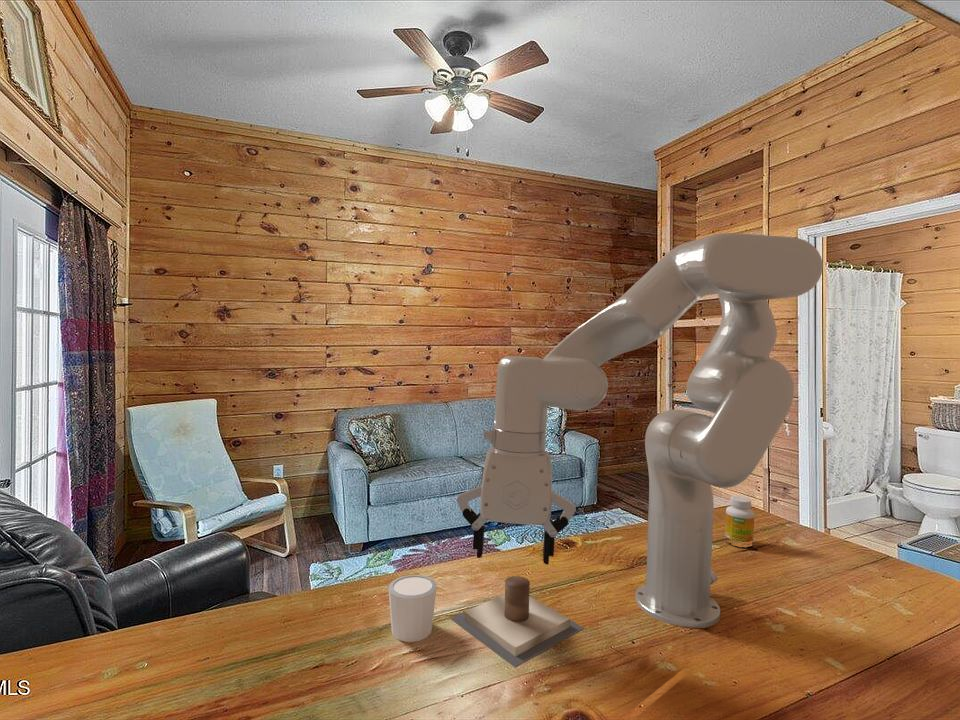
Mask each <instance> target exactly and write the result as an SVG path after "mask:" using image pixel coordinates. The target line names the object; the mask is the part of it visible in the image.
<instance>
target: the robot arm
mask: <svg viewBox="0 0 960 720" xmlns="http://www.w3.org/2000/svg"><path fill="white" fill-rule="evenodd" d="M822 273H823V260H822V256H821V254H820V252H819V250H818V249H817V248H816V247H815V246H814V245H813V244H812V243H810V242H809V241H807V240H805V239H802V238H798V237H793V236H782V235H781V236H779V235H778V236H777V235H765V234H764V235H763V234H753V233H736V232H734V233H733V232H732V233H731V232H728V233H727V232H726V233H725V232H723V233H716V234H711V235H708V236H705V237H701V238H697V239H694V240H691V241H687V242H684V243H682V244H679V245H677V246H675V247H674V248H672V249H671V250H670V251H668V252H667V253H666V254H665V255H664V256H663V257H661V259H660V260H658V262H656V263H655V264H654V265H653V266H652V267H651V268H650V269H649V270H648V271H647V272H646V273H645V274H643V276H642V277H641V278H640V279H638V280H637V281H636V282H635V283H634V284H633V285H632V286H631V287H630V288H629V289H628V290H627V291H626V292H624V294H622V295H621V296H620V297H618V299H616V300H615V301H613V302H612V303H611V304H609V305H608V306H606V307H605V308H604V309H602V310H601V311H599V312H598V313H597V314H595V315H594V316H593V317H591V318H590V319H588V320H587V321H586V322H584V323H582V324H581V325H579V326H577V328H575V330H573V331H572V332H571V333H569V334H568V335H567V336H566V337H564V338H563V340H561V341H560V342H559V343H558V344H557V345H556V346H555V347H554V348H552V350H551V351H550V352H548V353H547V354H546V355H545V356H544V357H543V358H540V357H535V356H520V355H519V356H518V355H508V356H504V357H502V358H501V359H500V360H499V362H498V364H497V370H496V371H497V372H496V373H497V374H496V388H495V389H496V392H495V408H494V409H495V410H494V424H493V425H494V427H493V428H492V429H491V430H484V431H483V441H488V442H491V443H490V444H492V446H490V447H488V449H487V452H486V455H485V459H484V465H483V472H482V480H481V485H479V486H475V487H474V488H471V489H469V490H467V491H464V492H462V493H460V494H458V495H457V497H456V502H457V505H458V507H459V509H460V511H461V514H462V517H463V518H464V519H465V520H466V521H467V523H468V524H469V525H470V526H471V529H472V530H473V539H472V550H475V551H476V558H477V559H481V558H483V553H484V543H485V527H486V526H485V524H486V523H487V522H488V521H490V522H493V523H494V522H496V523H505V524H514V525H515V524H516V525H517V524H519V525H528V526H531V525H532V526H542V527H543V529H544V531H543V544H542V545H543V546H542V547H543V548H542V561H543V564H545V565H549V563H550V562H549V561H550V557H553V558H554V556H555V554H554V553H555V542H556V541H555V538H556V537H557V536H558V534H559V533H561V531H563V529H565V528H566V527H567V526H568V525H569V522H570V520H572V517H573V516H574V514H575V513H576V511H577V507H576V505H575V504H574V503H573V502H571V501H570V500H568V499H566V498H565V497H563V496H561V495H559V494H558V493H557V492H555V491H553V474H552V473H553V470H552V469H553V468H552V460H551V459H552V458H551V453H550V452H549V451H547V450H546V439H547V422H548V421H547V419H548V407H552V408H553V407H554V408H560V409H564V410H569V411H570V410H571V411H576V412H577V411H578V412H579V411H586V410H590V409H593V408H595V407H597V406H598V405H599V404H601V402H602V401H603V400H604V399H605V397H606V395H607V393H608V390H609V381H608V377H607V375H606V373H605V372H604V370H603V369H602V368H601V366H602V365H603V364H605V363H607V362H608V361H611V359H614V358H616V357H617V356H620V355H622V354H624V353H628V352H631V351H635V350H638V349H640V348H643V347H645V346H647V345H650V344H651V343H654V342H655V341H657V340H659V339H660V338H661V337H662V336H664V334H665V333H666V332H668V330H669V329H670V328H671V327H672V326H673V325H674V324H676V322H677V321H678V320H680V318H681V317H682V316H684V314H686V312H687V311H688V310H690V309H691V308H692V307H693V306H694V305H695V304H696V303H697V302H698V301H699V300H701V299H702V298H703V297H706V296H712V295H717V297H718V300H719V303H720V307H721V320H720V325H719V327H718V328H717V330H716V332H715V334H714V336H713V338H712V339H711V341H710V343H709V344H708V346H707V347H706V349H705V351H704V352H703V353H702V355H701V356H700V358H699V360H698V362H697V363H696V364H695V366H694V368H693V370H692V371H691V373H690V375H689V377H688V379H687V382H686V387H685V388H686V395H687V398H688V400H689V401H690V402H691V403H692V404H693V405H694V406H695V407H697V408H699V409H700V410H703V411H706V412H709V413H713V414H714V415H713V416H710V415H706V414H702V413H699V412H694V411H690V410H684V409H669V410H666V411H663V412H660V413H658V414H657V415H655V417H653V419H652V420H650V423H649V425H648V426H647V429H646V432H645V436H644V447H645V456H646V461H647V463H646V464H647V468H648V469H647V470H648V471H647V472H648V484H649V486H648V487H649V488H648V489H649V490H648V492H649V493H648V512H647V515H648V516H647V543H646V545H647V546H646V570H645V571H646V575H645V576H646V577H645V583H643V584H642V585H641V586H639V587H637V589H636V590H635V602H636V604H637V606H638V607H639V608H640V609H641V610H642V611H643V612H644V613H646V614H647V615H649V616H650V617H652V618H654V619H656V620H658V621H661V622H663V623H666V624H668V625H672V626H676V627H681V628H689V629H691V628H692V629H693V628H694V629H697V628H698V629H700V628H702V629H706V627H707V628H710V627H709V626H711V627H713V626H715V625H716V624H717V623H718V622H719V621H720V619H721V607H720V605H719V604H718V603H717V601H716V600H715V599H714V598H713V597H712V596H711V586H712V585H713V584H714V583H716V582H717V581H718V575H717V573H716V572H715V571H714V570H712V555H713V554H712V553H713V552H712V551H713V530H714V528H713V527H714V513H715V512H714V511H715V510H714V507H715V506H714V505H715V503H714V494H713V490H712V487H715V488H721V489H723V488H724V489H727V488H733V487H736V486H737V485H740V484H741V483H743V482H744V481H745V480H747V478H749V477H750V475H752V473H753V472H754V471H755V469H756V468H757V466H758V464H759V463H760V461H761V459H762V458H763V457H764V455H765V453H766V452H767V450H768V448H769V447H770V445H771V443H772V441H773V439H775V436H776V434H777V433H778V432H779V430H780V428H781V427H782V425H783V423H784V422H785V419H786V418H787V416H788V414H789V412H790V410H791V407H792V404H793V402H794V401H793V400H794V392H795V391H794V388H795V387H794V380H793V377H792V375H791V372H790V371H789V370H788V368H787V367H786V366H785V365H784V364H782V363H781V362H780V361H778V360H776V359H774V358H771V357H769V356H770V355H771V353H772V351H773V349H774V346H775V344H776V342H777V339H778V338H777V337H778V330H777V325H776V321H775V318H774V315H773V313H772V309H771V308H770V307H771V306H770V304H769V302H768V300H778V299H780V300H781V299H789V298H795V297H800V296H802V295H804V294H807V293H808V292H810V290H812V289H813V288H814V287H815V286H816V285H817V284H818V283H819V281H820V280H821V276H822ZM478 498H479V499H480V501H479V502H480V503H479V512H478V513H476V512H475V511H474V510H473V509H472V508H471V506H470V504H469V502H470V501H474V500H476V499H478ZM552 504H554V505H555V506H557V507H559V509H560V508H561V509H562V510H563V511H562V512H561V514H560V515H558V517H557V518H556V519H554V520H553V519H552V518H551V515H552ZM719 618H720V619H719ZM718 620H719V621H718ZM715 623H716V624H715ZM714 624H715V625H714ZM712 625H713V626H712Z"/></svg>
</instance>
